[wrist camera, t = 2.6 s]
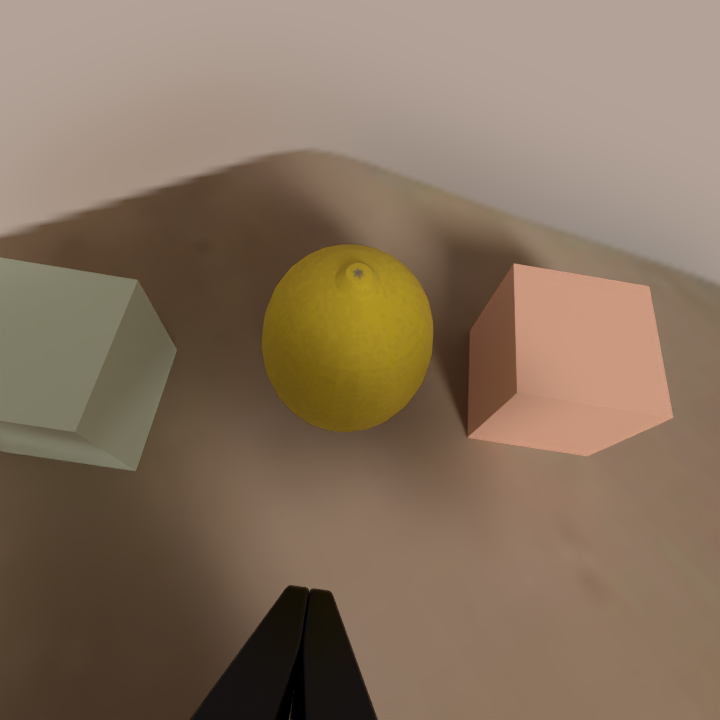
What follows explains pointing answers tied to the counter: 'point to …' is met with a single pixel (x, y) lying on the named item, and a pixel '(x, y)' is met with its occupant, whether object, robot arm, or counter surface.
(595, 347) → the terracotta block
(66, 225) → the counter surface
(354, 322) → the lemon
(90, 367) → the sage block
